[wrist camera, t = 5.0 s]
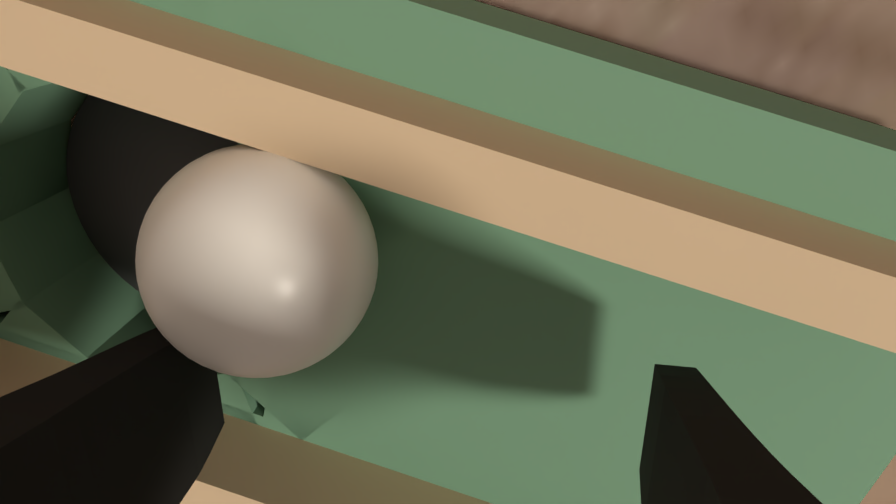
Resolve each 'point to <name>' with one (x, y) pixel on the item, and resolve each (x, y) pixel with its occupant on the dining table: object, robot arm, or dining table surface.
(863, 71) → the dining table surface
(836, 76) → the dining table surface
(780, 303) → the board
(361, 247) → the ball
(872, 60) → the dining table surface
